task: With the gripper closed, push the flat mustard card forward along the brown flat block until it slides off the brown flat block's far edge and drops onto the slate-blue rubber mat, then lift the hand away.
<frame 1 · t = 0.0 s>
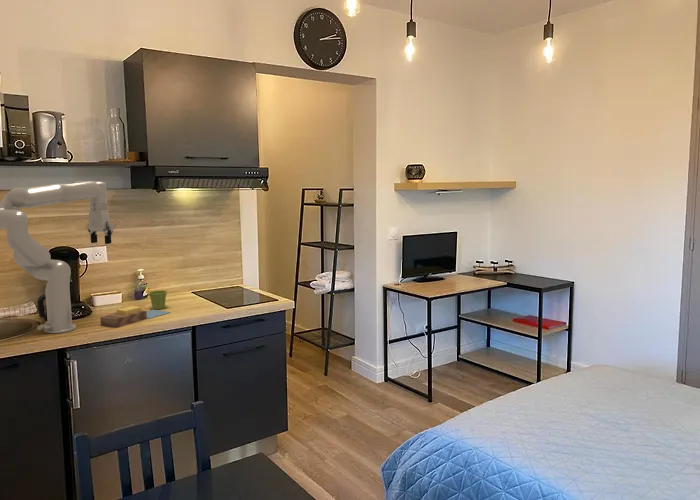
hand: (101, 243, 254), 37 cm above the worktop, tool pointing down, fingers open, 9 cm apart
mat: (151, 314, 265), on the worktop
milk frother: (60, 321, 252), on the worktop
plant pot: (158, 308, 278), on the worktop
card: (129, 312, 252), point 4 cm above the worktop, touching brown flat block
brown flat block: (124, 322, 250), on the worktop
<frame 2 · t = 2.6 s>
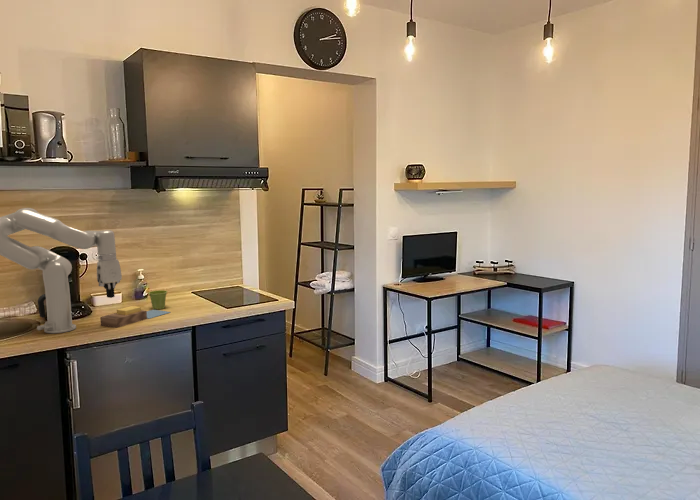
hand: (110, 297, 242), 13 cm above the worktop, tool pointing down, fingers closed
nothing on the worktop moved.
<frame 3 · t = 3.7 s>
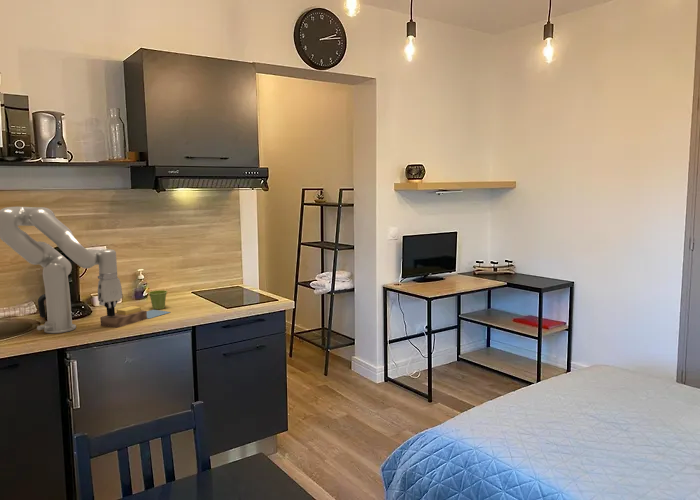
hand: (111, 315, 243), 5 cm above the worktop, tool pointing down, fingers closed
nothing on the worktop moved.
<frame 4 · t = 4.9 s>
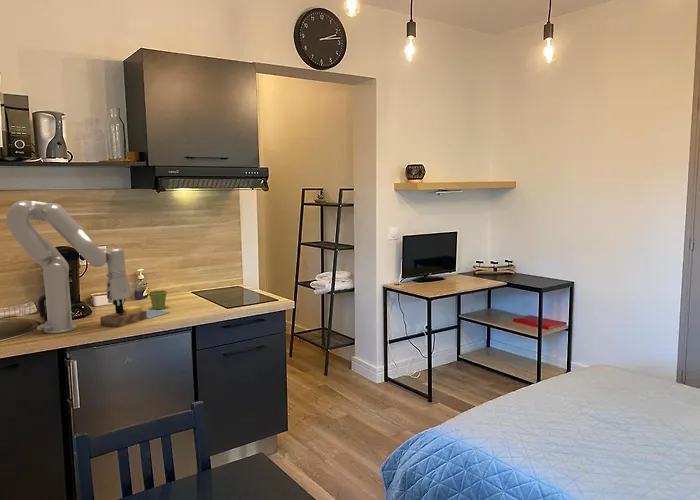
hand: (119, 313, 247), 5 cm above the worktop, tool pointing down, fingers closed
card: (130, 312, 253), point 4 cm above the worktop, touching brown flat block, gripper
everything else where it was.
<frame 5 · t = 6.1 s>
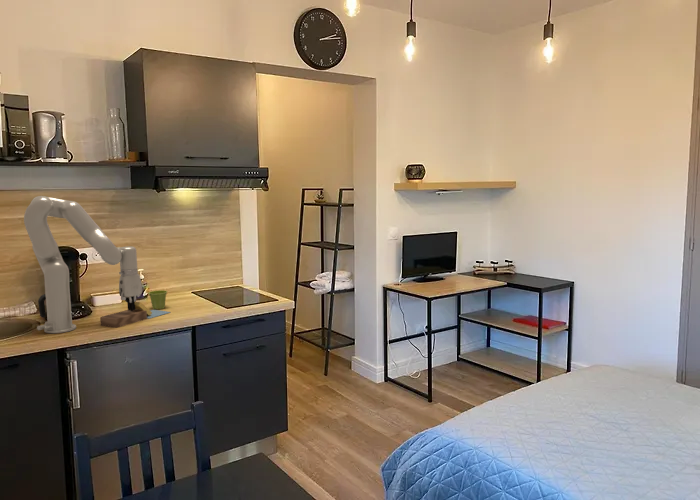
hand: (131, 310, 253), 5 cm above the worktop, tool pointing down, fingers closed
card: (140, 310, 258), point 3 cm above the worktop, tilted 45°, touching mat
everything else where it was.
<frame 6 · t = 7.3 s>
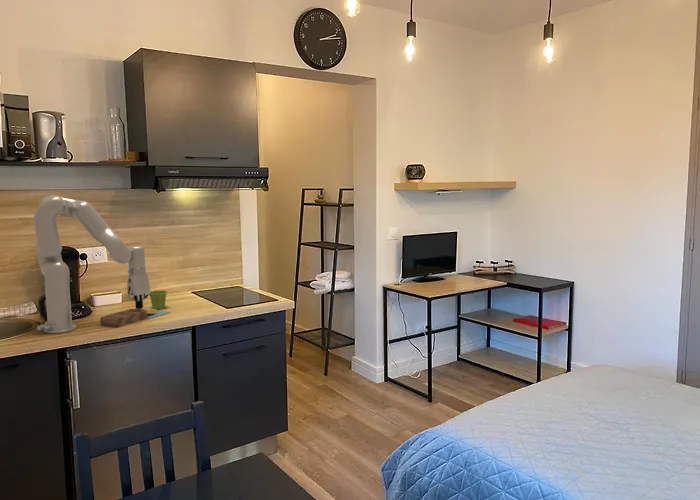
hand: (139, 308, 258), 5 cm above the worktop, tool pointing down, fingers closed
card: (146, 313, 262), point 1 cm above the worktop, tilted 13°, touching brown flat block, mat
everything else where it was.
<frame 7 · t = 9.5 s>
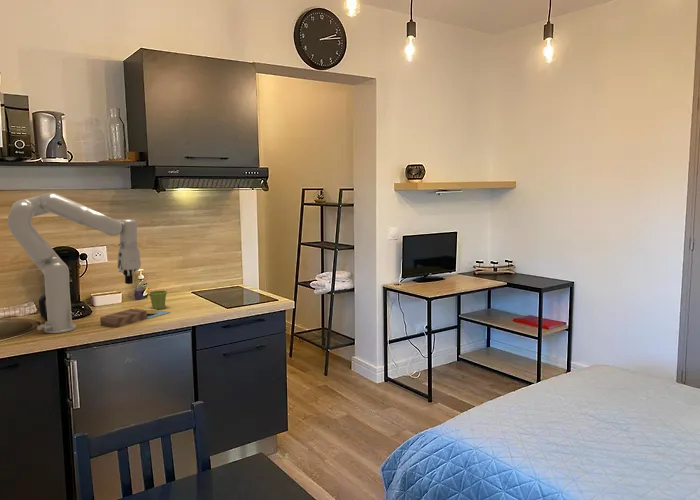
hand: (128, 283, 252), 18 cm above the worktop, tool pointing down, fingers closed
nothing on the worktop moved.
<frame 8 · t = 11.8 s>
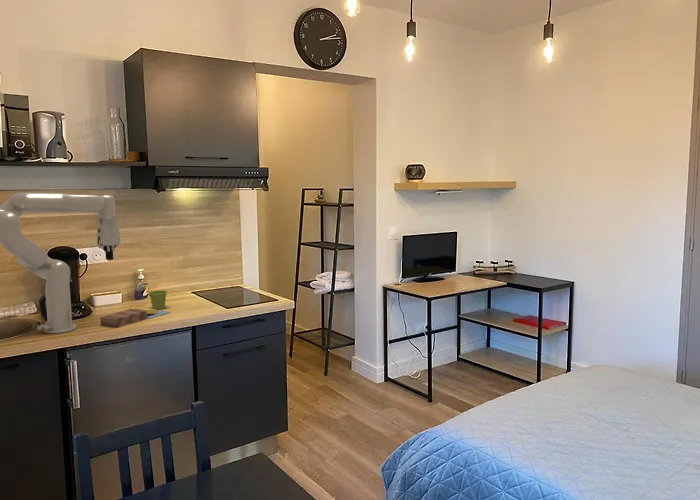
hand: (109, 259, 253), 29 cm above the worktop, tool pointing down, fingers closed
nothing on the worktop moved.
at the end: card point 1.3 cm above the worktop; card inside the target area on the mat (3.1 cm from its centre), point 1.3 cm above the mat's base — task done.
